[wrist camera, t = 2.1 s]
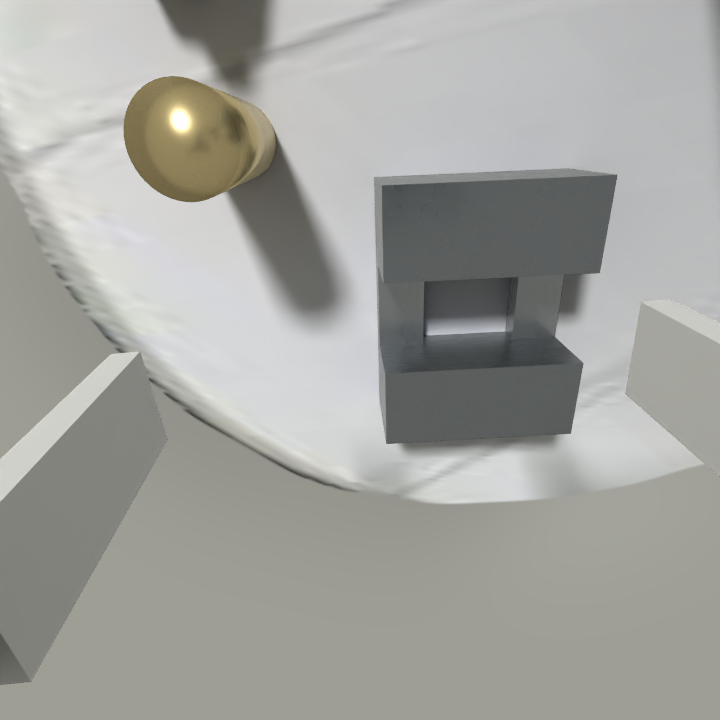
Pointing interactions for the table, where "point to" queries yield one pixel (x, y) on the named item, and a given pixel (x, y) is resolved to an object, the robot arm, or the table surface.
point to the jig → (483, 261)
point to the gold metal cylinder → (195, 139)
